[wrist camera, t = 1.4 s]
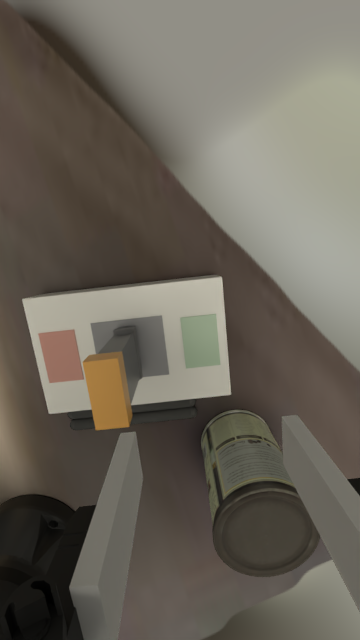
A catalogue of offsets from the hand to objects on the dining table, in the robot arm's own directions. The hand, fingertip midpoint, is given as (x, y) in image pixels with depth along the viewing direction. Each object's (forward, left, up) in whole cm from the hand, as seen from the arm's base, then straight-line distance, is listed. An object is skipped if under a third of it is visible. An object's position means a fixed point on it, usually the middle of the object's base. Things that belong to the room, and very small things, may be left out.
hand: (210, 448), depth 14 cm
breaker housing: (-7, 0, -23) cm, 24 cm away
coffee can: (+5, -17, -23) cm, 29 cm away
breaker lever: (-7, 0, -18) cm, 19 cm away
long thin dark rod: (-9, -10, -23) cm, 27 cm away
